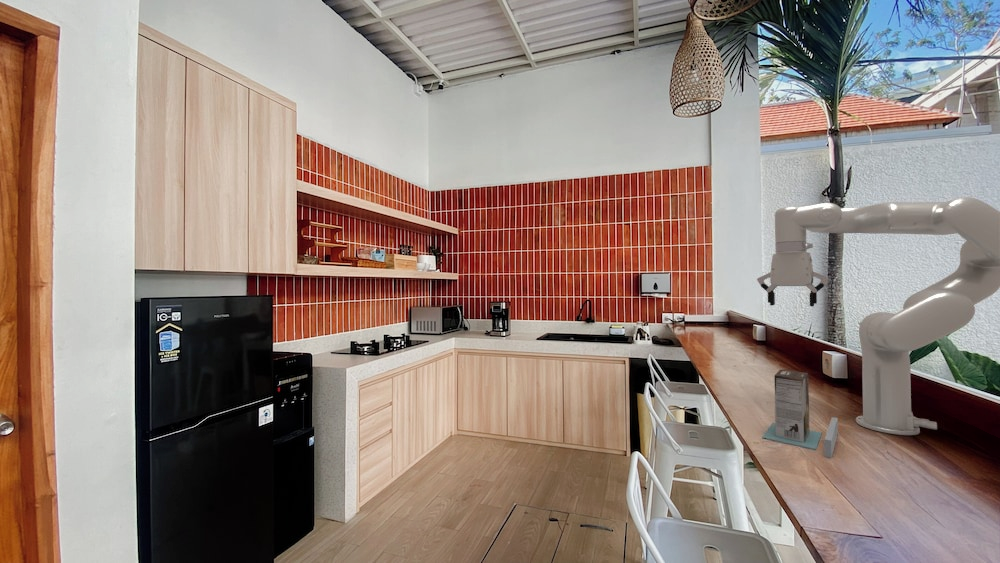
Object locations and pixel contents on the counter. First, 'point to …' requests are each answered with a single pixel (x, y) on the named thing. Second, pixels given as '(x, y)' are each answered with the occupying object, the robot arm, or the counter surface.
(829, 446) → the low wall
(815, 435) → the mat
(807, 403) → the coffee box
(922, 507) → the counter surface
